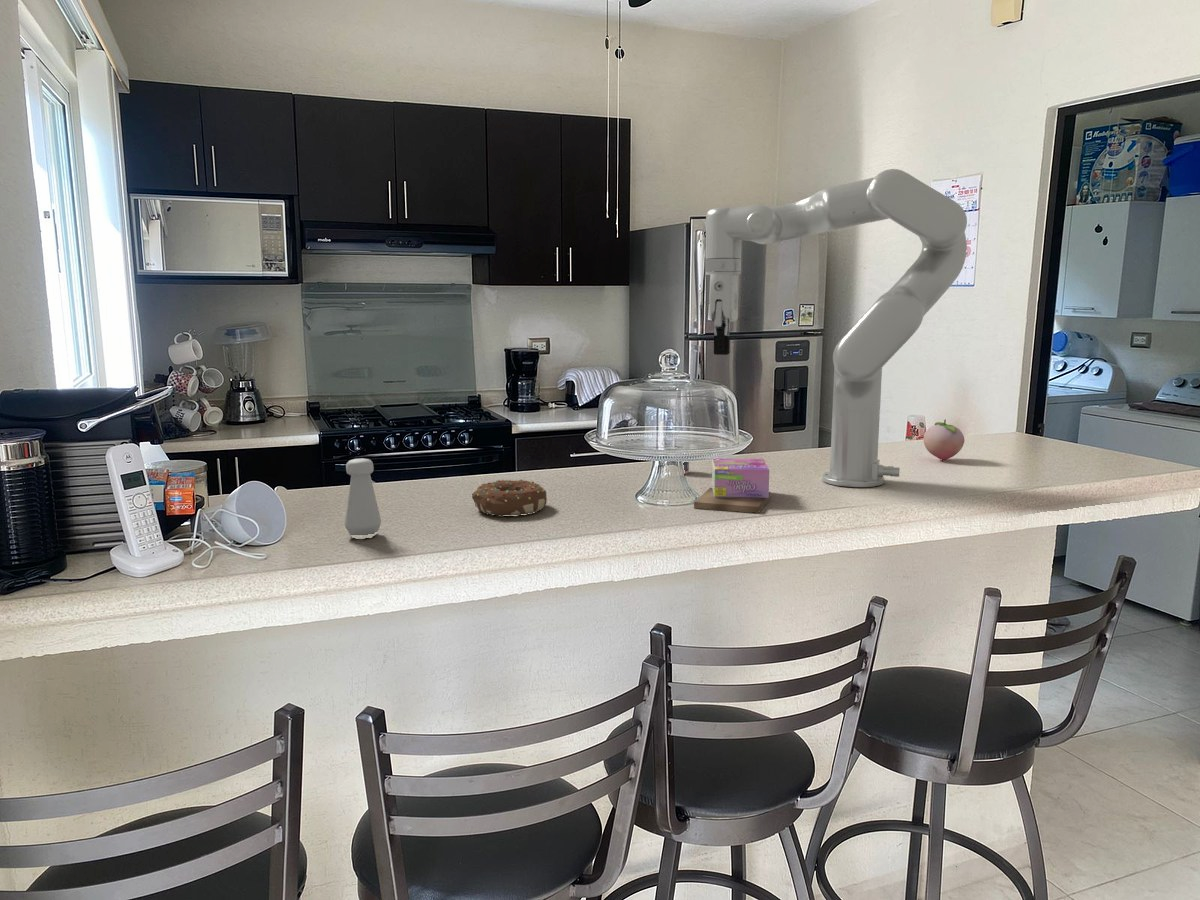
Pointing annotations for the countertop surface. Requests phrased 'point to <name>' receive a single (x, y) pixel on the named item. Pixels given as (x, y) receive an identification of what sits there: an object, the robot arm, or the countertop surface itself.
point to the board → (730, 503)
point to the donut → (509, 497)
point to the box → (740, 478)
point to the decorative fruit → (943, 440)
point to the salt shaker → (361, 499)
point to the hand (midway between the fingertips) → (721, 354)
